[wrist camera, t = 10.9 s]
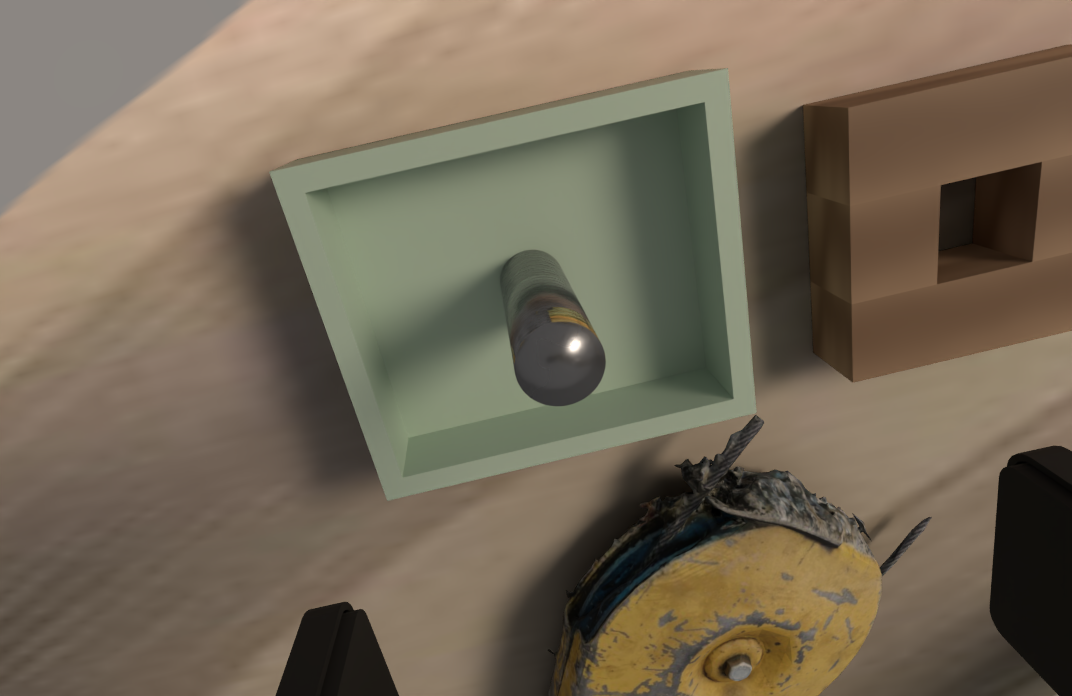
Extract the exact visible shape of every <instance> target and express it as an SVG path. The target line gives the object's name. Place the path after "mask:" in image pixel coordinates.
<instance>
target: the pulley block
mask: <svg viewBox="0 0 1072 696" xmlns="http://www.w3.org/2000/svg"><path fill="white" fill-rule="evenodd" d="M763 424H764V421H763V420H762V419H760V418H759V417H758V416H756V415H755V416H754V417H753V418H752V419H751V420H750V422H749V423H748V424H747V425H746V426H745V427H744V428H743V429H742V430H741V431H738V432H736V433H734V434H732V435H731V436H730V439H729V441H728V443H727V446H726V448H725V450H724V451H723V452H722V454H717V455H715V458H714V461H712V460H711V459H710V460H708V459H707V457H704V458H703V459H702V460H701V461H700V463H698V464H695V465H692V463H691V462H690V461H689V459H687V460H685V461H684V462H683V463H682V464H681V465H674V466H676V467H679V468H681V471H682V476H683V479H684V480H685V481H686V483H687V484H688V485H689V486H690V487H691V488H692V489H693V492H692V493H685V492H684V493H683V494H681V495H679V496H677V497H666V498H665V499H664V500H663V501H662V500H661V498H660V497H658V498H655V499H652V500H651V501H650V502H646V503H641V504H640V507H641V508H648V512H647V514H646V515H645V516H644V517H642V518H640V519H638V522H637V523H636V524H634V525H633V526H632V527H631V528H630V529H629V530H628V531H627V532H626V533H625V534H624V535H623V536H621V537H620V538H619V539H614V543H613V545H612V547H611V548H610V549H609V550H608V551H607V552H606V553H605V554H604V555H603V556H602V557H601V558H600V560H599V561H598V560H596V559H595V562H594V564H593V566H592V567H591V569H590V570H589V571H588V572H587V573H586V575H585V576H584V577H583V578H582V579H581V580H580V582H579V583H578V585H577V586H576V588H575V590H574V591H573V592H569V591H567V590H566V591H567V596H568V598H569V597H570V599H569V601H568V602H567V604H566V607H565V610H564V619H563V632H562V637H561V641H560V645H559V649H558V652H556V653H553V652H552V651H551V650H548V651H549V652H551V653H552V654H554V656H555V659H556V664H555V668H554V672H553V676H552V681H551V685H550V689H549V693H548V696H818V695H819V694H820V693H821V692H822V691H823V690H824V689H825V688H826V687H827V686H828V685H830V684H831V683H832V682H833V681H834V680H835V679H836V678H837V677H838V676H839V675H840V674H841V673H842V671H843V670H844V669H845V668H846V667H847V665H848V664H849V663H850V662H851V660H852V659H853V658H854V657H855V655H856V654H857V653H858V651H859V649H860V647H861V646H862V644H863V642H864V640H865V638H866V637H867V635H868V633H869V631H870V630H871V628H872V625H873V622H874V619H875V616H876V614H877V610H878V606H879V601H880V597H881V592H882V576H883V575H884V574H885V573H886V572H887V571H888V570H889V569H890V568H891V567H892V566H893V565H894V564H895V563H896V562H897V560H898V559H899V558H900V557H901V556H902V554H903V553H904V552H905V551H906V550H907V549H908V547H909V546H910V545H911V544H912V543H913V542H914V540H915V539H916V538H917V537H918V536H919V535H920V534H921V533H922V532H923V531H924V529H925V528H926V526H927V524H928V523H929V521H930V519H931V518H932V517H928V518H926V519H924V520H923V521H921V522H920V523H919V524H918V525H917V526H916V527H915V528H914V529H912V530H911V532H910V533H909V534H908V535H907V537H906V538H905V539H904V540H903V541H902V543H901V544H900V545H899V546H898V547H897V549H896V550H895V551H894V552H893V553H892V555H891V556H890V557H889V558H888V559H887V560H886V561H885V562H884V563H883V564H882V566H881V567H880V568H879V565H878V563H877V561H876V559H875V558H874V556H873V554H872V552H871V550H870V549H869V547H868V545H867V543H866V542H865V540H864V538H863V537H862V535H861V532H864V533H865V534H866V536H867V537H868V538H869V539H870V537H869V536H868V534H867V532H866V529H865V525H864V522H863V521H861V520H860V519H859V518H858V517H857V516H855V515H854V514H853V513H852V514H853V515H854V517H855V518H848V516H847V515H846V514H845V513H844V512H843V510H841V508H840V507H838V508H836V507H835V506H834V505H833V504H832V503H828V502H827V500H826V498H825V497H822V498H819V499H818V498H816V497H815V496H816V493H815V494H811V493H810V492H809V491H808V490H807V489H805V487H804V486H803V484H802V482H801V481H799V480H798V479H797V478H796V477H795V476H793V475H792V474H791V473H790V472H788V471H785V472H783V471H778V470H773V471H770V472H763V473H753V472H748V471H744V468H741V467H738V466H737V467H735V468H734V470H729V468H730V467H731V465H732V464H733V463H734V462H735V460H736V459H737V458H738V456H739V455H740V454H741V453H742V451H743V450H744V449H745V447H746V446H747V445H748V444H749V442H750V441H751V440H752V439H753V438H754V436H755V435H756V434H757V433H758V432H759V430H760V429H761V427H762V426H763ZM703 463H704V464H703ZM711 464H712V465H711ZM855 519H856V520H855ZM856 521H857V523H858V524H859V527H857V524H856ZM870 540H871V539H870Z"/></svg>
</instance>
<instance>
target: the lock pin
mask: <svg viewBox="0 0 1072 696" xmlns="http://www.w3.org/2000/svg"><path fill="white" fill-rule="evenodd" d="M500 286H501V293H502V299H503V305H504V311H505V317H506V323H507V329H508V335H509V340H510V346H511V352H512V358H513V364H514V370H515V376H516V379H517V382H518V384H519V386H520V387H521V389H522V390H523V391H524V392H525V394H527V395H528V396H529V397H530V398H532V399H533V400H535V401H537V402H539V403H541V404H544V405H548V406H567V405H571V404H574V403H577V402H579V401H581V400H583V399H585V398H586V397H587V396H589V395H590V394H591V393H592V392H593V391H594V390H595V389H596V388H597V386H598V385H599V383H600V382H601V380H602V377H603V375H604V372H605V366H606V358H605V352H604V349H603V346H602V344H601V342H600V340H599V338H598V336H597V334H596V333H595V331H594V329H593V327H592V325H591V323H590V321H589V319H588V317H587V315H586V314H585V312H584V310H583V308H582V306H581V304H580V302H579V300H578V298H577V296H576V295H575V293H574V291H573V289H572V287H571V285H570V283H569V281H568V279H567V277H566V276H565V274H564V272H563V270H562V268H561V266H560V264H559V263H558V261H557V260H556V259H555V258H554V257H553V256H551V255H550V254H548V253H546V252H544V251H540V250H525V251H522V252H519V253H517V254H516V255H514V256H513V257H511V258H510V259H509V260H508V261H507V263H506V264H505V266H504V267H503V270H502V272H501V276H500Z"/></svg>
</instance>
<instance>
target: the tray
mask: <svg viewBox="0 0 1072 696" xmlns="http://www.w3.org/2000/svg"><path fill="white" fill-rule="evenodd" d="M269 173H270V175H271V178H272V181H273V184H274V187H275V189H276V192H277V195H278V198H279V200H280V203H281V206H282V209H283V212H284V214H285V217H286V220H287V223H288V226H289V228H290V231H291V234H292V237H293V239H294V242H295V245H296V248H297V251H298V253H299V256H300V259H301V262H302V265H303V267H304V270H305V273H306V276H307V278H308V281H309V284H310V287H311V290H312V292H313V295H314V298H315V301H316V303H317V306H318V309H319V312H320V315H321V317H322V320H323V323H324V326H325V329H326V331H327V334H328V337H329V340H330V342H331V345H332V348H333V351H334V354H335V356H336V359H337V362H338V365H339V368H340V370H341V373H342V376H343V379H344V381H345V384H346V387H347V390H348V393H349V395H350V398H351V401H352V404H353V406H354V409H355V412H356V415H357V418H358V420H359V423H360V426H361V429H362V432H363V434H364V437H365V440H366V443H367V445H368V448H369V451H370V454H371V457H372V459H373V462H374V465H375V468H376V471H377V473H378V476H379V479H380V482H381V484H382V487H383V490H384V493H385V496H386V498H387V501H389V500H393V499H397V498H401V497H405V496H410V495H414V494H418V493H422V492H426V491H431V490H435V489H439V488H443V487H447V486H452V485H456V484H460V483H464V482H468V481H473V480H477V479H481V478H485V477H489V476H494V475H498V474H502V473H506V472H510V471H515V470H519V469H523V468H527V467H531V466H536V465H540V464H544V463H548V462H552V461H557V460H561V459H565V458H569V457H573V456H578V455H582V454H586V453H590V452H594V451H599V450H603V449H607V448H611V447H615V446H620V445H624V444H628V443H632V442H636V441H641V440H645V439H649V438H653V437H657V436H662V435H666V434H670V433H674V432H679V431H683V430H687V429H691V428H695V427H700V426H704V425H708V424H712V423H716V422H721V421H725V420H729V419H733V418H737V417H742V416H746V415H750V414H754V413H756V401H755V389H754V377H753V365H752V352H751V340H750V328H749V316H748V304H747V292H746V280H745V268H744V256H743V244H742V232H741V220H740V208H739V196H738V184H737V172H736V160H735V148H734V136H733V124H732V112H731V100H730V88H729V76H728V68H723V69H707V70H691V71H686V72H681V73H677V74H673V75H668V76H664V77H659V78H655V79H650V80H646V81H642V82H637V83H633V84H628V85H624V86H620V87H615V88H611V89H606V90H602V91H597V92H593V93H589V94H584V95H580V96H575V97H571V98H566V99H562V100H558V101H553V102H549V103H544V104H540V105H536V106H531V107H527V108H522V109H518V110H513V111H509V112H505V113H500V114H496V115H491V116H487V117H482V118H478V119H474V120H469V121H465V122H460V123H456V124H452V125H447V126H443V127H438V128H434V129H429V130H425V131H421V132H416V133H412V134H407V135H403V136H399V137H394V138H390V139H385V140H381V141H376V142H372V143H368V144H363V145H359V146H354V147H350V148H345V149H341V150H337V151H332V152H328V153H323V154H319V155H315V156H310V157H306V158H301V159H297V160H295V161H292V162H290V163H288V164H286V165H284V166H281V167H279V168H277V169H275V170H273V171H270V172H269ZM525 250H540V251H544V252H546V253H548V254H550V255H551V256H553V257H554V258H555V259H556V260H557V261H558V263H559V264H560V266H561V268H562V270H563V272H564V274H565V276H566V277H567V279H568V281H569V283H570V285H571V287H572V289H573V291H574V293H575V295H576V296H577V298H578V300H579V302H580V304H581V306H582V308H583V310H584V312H585V314H586V315H587V317H588V319H589V321H590V323H591V325H592V327H593V329H594V331H595V333H596V334H597V336H598V338H599V340H600V342H601V344H602V346H603V349H604V352H605V358H606V366H605V372H604V375H603V377H602V380H601V382H600V383H599V385H598V386H597V388H596V389H595V390H594V391H593V392H592V393H591V394H590V395H589V396H587V397H586V398H585V399H583V400H581V401H579V402H577V403H574V404H571V405H567V406H548V405H544V404H541V403H539V402H537V401H535V400H533V399H532V398H530V397H529V396H528V395H527V394H525V392H524V391H523V390H522V389H521V387H520V386H519V384H518V382H517V379H516V376H515V370H514V364H513V358H512V352H511V346H510V340H509V335H508V329H507V323H506V317H505V311H504V305H503V299H502V293H501V286H500V276H501V272H502V270H503V267H504V266H505V264H506V263H507V261H508V260H509V259H510V258H511V257H513V256H514V255H516V254H517V253H519V252H522V251H525Z"/></svg>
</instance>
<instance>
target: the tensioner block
mask: <svg viewBox="0 0 1072 696" xmlns="http://www.w3.org/2000/svg"><path fill="white" fill-rule="evenodd" d="M803 117H804V141H805V165H806V188H807V212H808V236H809V259H810V283H811V307H812V330H813V353H815V354H816V355H817V356H819V357H820V358H821V359H823V360H824V361H825V362H826V363H828V364H829V365H830V366H832V367H833V368H834V369H836V370H837V371H838V372H840V373H841V374H842V375H844V376H845V377H846V378H848V379H849V380H850V381H852V382H857V381H862V380H866V379H870V378H874V377H878V376H883V375H887V374H891V373H895V372H899V371H904V370H908V369H912V368H916V367H920V366H925V365H929V364H933V363H937V362H941V361H946V360H950V359H954V358H958V357H963V356H967V355H971V354H975V353H979V352H984V351H988V350H992V349H996V348H1000V347H1005V346H1009V345H1013V344H1017V343H1021V342H1026V341H1030V340H1034V339H1038V338H1042V337H1047V336H1051V335H1055V334H1059V333H1063V332H1068V331H1072V45H1064V46H1060V47H1055V48H1051V49H1047V50H1042V51H1038V52H1034V53H1029V54H1025V55H1020V56H1016V57H1012V58H1007V59H1003V60H998V61H994V62H990V63H985V64H981V65H977V66H972V67H968V68H963V69H959V70H955V71H950V72H946V73H941V74H937V75H933V76H928V77H924V78H920V79H915V80H911V81H906V82H902V83H898V84H893V85H889V86H885V87H880V88H876V89H871V90H867V91H863V92H858V93H854V94H849V95H845V96H841V97H836V98H832V99H828V100H823V101H819V102H814V103H810V104H806V105H803ZM974 177H976V191H975V208H974V225H973V242H972V244H968V245H964V246H959V247H955V248H951V249H946V250H942V251H938V244H939V217H940V191H941V185H943V184H948V183H952V182H956V181H961V180H965V179H969V178H974Z"/></svg>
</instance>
